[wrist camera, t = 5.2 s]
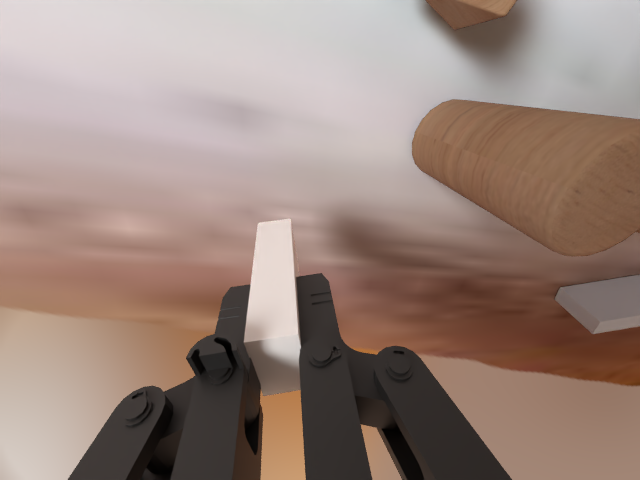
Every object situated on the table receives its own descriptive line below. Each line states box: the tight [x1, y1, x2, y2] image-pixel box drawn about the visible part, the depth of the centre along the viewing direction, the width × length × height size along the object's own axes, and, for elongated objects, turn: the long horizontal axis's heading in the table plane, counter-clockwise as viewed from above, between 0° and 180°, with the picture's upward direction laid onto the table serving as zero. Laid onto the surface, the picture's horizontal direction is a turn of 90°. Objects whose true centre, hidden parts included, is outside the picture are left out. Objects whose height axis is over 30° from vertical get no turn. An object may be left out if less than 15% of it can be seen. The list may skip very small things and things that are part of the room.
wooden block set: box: [412, 0, 640, 256], centre depth 13 cm, size 18×9×10 cm, turn 57°
